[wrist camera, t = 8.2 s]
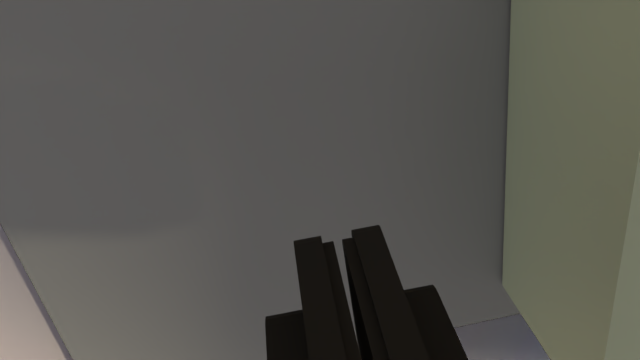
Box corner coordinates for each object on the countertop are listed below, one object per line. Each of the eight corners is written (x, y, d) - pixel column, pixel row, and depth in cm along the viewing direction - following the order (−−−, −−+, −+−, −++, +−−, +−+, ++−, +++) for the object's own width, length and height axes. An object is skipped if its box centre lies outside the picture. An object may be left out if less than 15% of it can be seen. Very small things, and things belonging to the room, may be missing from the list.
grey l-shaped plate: (1042, -284, 12) (1638, -382, 7) (823, 258, 20) (1033, 399, 15) (-150, -85, 11) (-489, -28, 6) (110, 415, 18) (67, 632, 13)
